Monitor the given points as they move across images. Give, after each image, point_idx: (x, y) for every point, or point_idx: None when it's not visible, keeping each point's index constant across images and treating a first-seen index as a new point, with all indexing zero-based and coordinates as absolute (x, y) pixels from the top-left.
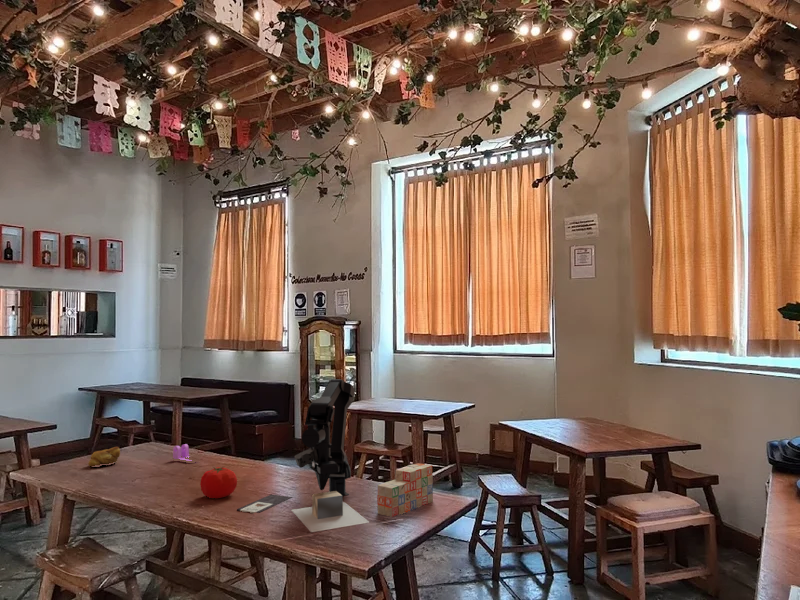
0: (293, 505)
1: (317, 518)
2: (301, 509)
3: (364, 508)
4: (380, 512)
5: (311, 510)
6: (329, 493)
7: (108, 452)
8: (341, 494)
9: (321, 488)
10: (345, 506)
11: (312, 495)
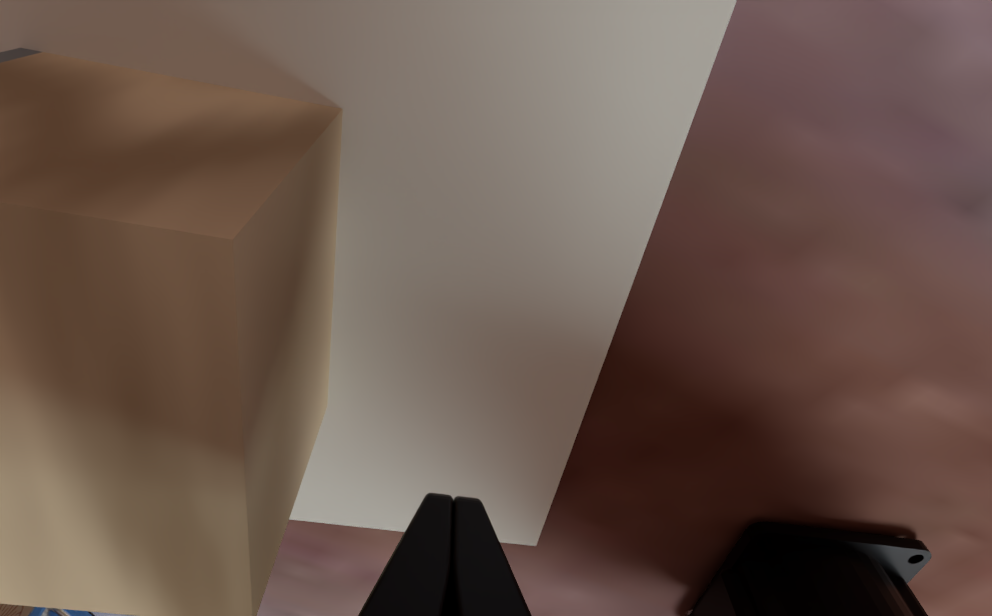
0: (974, 84)
1: (41, 53)
2: (646, 63)
3: (278, 578)
4: (5, 609)
5: (493, 168)
6: (131, 514)
7: None
8: (707, 605)
9: (412, 530)
10: (389, 503)
11: (209, 223)
